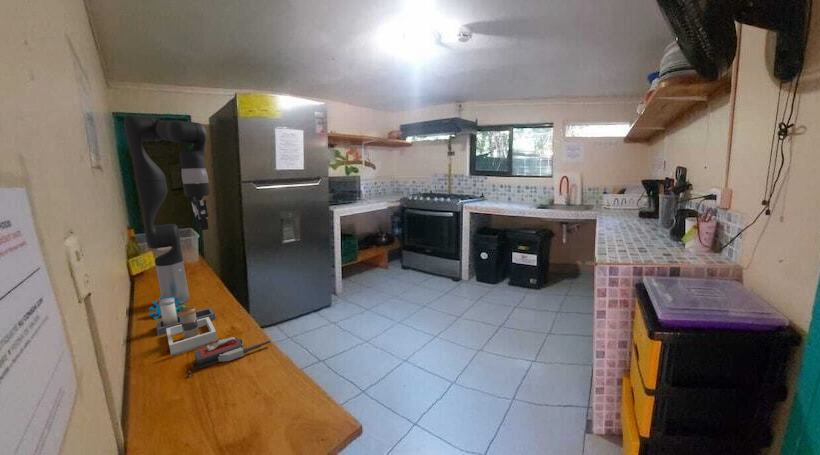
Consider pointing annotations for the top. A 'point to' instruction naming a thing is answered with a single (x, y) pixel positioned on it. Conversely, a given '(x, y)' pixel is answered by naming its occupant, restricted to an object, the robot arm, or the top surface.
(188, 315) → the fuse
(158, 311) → the gear
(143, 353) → the top surface
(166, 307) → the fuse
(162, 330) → the fuse block
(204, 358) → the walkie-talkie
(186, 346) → the parts tray
